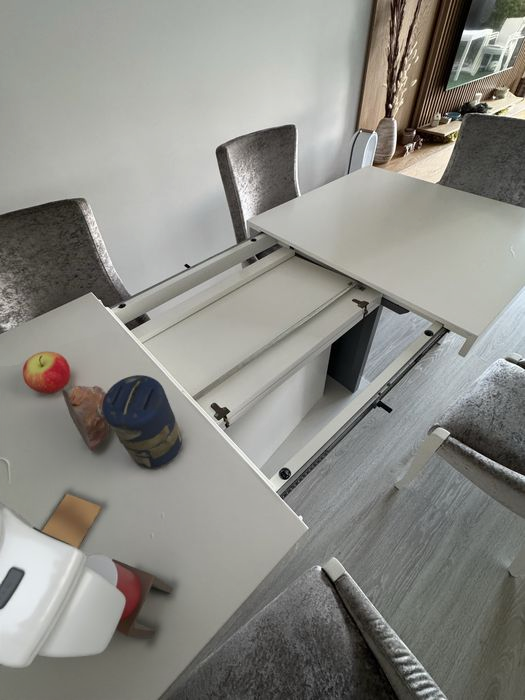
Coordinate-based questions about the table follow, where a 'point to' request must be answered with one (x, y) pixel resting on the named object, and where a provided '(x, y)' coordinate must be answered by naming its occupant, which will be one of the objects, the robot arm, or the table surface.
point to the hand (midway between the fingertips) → (44, 596)
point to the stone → (87, 413)
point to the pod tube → (117, 580)
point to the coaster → (72, 520)
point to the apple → (46, 372)
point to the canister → (143, 420)
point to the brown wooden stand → (140, 603)
